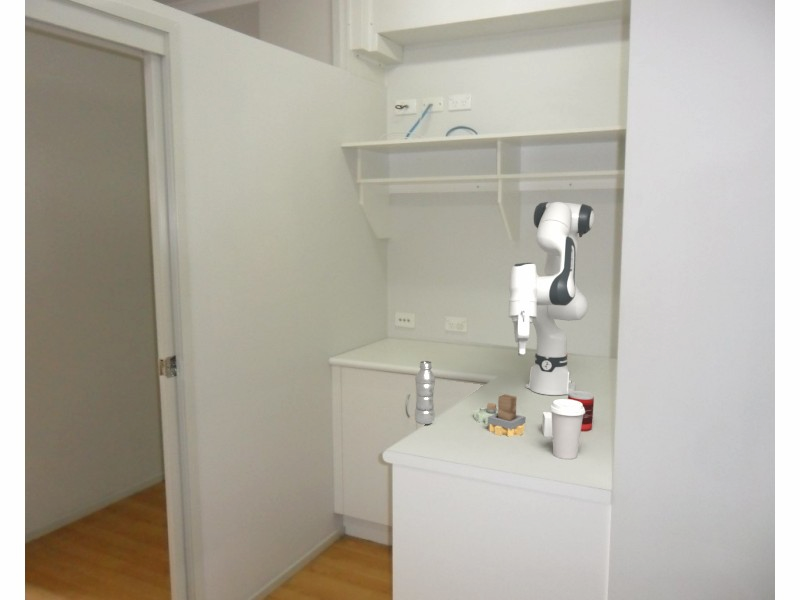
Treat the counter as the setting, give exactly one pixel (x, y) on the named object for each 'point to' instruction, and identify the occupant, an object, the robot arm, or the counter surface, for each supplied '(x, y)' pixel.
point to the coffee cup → (566, 427)
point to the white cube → (547, 424)
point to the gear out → (506, 425)
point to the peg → (507, 407)
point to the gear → (485, 413)
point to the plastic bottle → (425, 394)
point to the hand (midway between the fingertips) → (521, 355)
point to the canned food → (588, 404)
